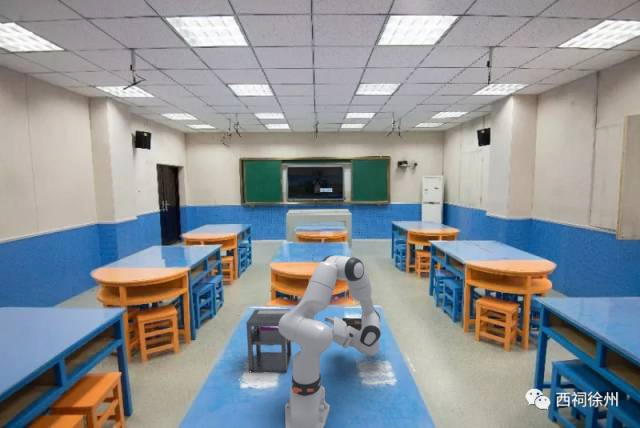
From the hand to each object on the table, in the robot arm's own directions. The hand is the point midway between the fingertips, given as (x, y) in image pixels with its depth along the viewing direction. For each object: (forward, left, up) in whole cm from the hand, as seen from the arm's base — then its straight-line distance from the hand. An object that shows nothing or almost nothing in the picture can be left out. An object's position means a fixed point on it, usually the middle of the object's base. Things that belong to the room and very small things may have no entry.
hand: (324, 322), depth 159 cm
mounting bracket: (+28, +34, -23) cm, 50 cm away
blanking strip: (0, +22, +4) cm, 22 cm away
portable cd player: (+39, -17, -23) cm, 48 cm away
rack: (0, +29, -22) cm, 36 cm away
